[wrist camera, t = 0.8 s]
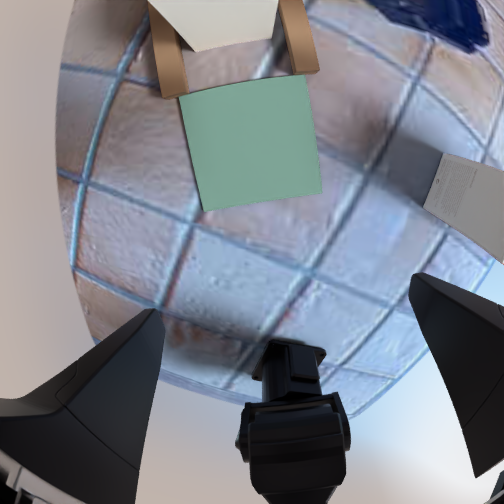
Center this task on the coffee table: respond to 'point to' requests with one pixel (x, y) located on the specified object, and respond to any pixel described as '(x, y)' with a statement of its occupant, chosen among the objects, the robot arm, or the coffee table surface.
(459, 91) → the coffee table surface
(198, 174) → the green mat
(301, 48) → the brown wooden frame
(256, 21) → the cream block
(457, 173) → the small box
